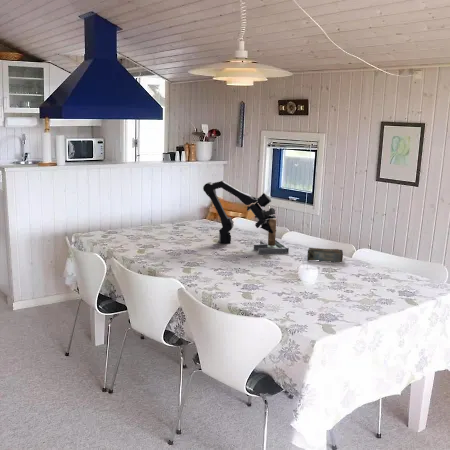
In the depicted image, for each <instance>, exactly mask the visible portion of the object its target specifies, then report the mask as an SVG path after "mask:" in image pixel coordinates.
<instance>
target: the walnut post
mask: <svg viewBox="0 0 450 450" xmlns="http://www.w3.org/2000/svg"><path fill="white" fill-rule="evenodd" d="M269 226H270V228H271V229H272V231H273V233H270V232H268V231H267V244H268V246H275V240H276V238H277V237H276V235H277V218H275V219H274V218H270V219H269Z"/></svg>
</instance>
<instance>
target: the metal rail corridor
mask: <svg viewBox="0 0 450 450" xmlns="http://www.w3.org/2000/svg"><path fill="white" fill-rule="evenodd" d="M275 245H276V246H277V247H279V248H268V243H266V242H265V241H264V240H262V239H260V240H259V243H258V244H253V250H254V251H258V252H257V254H259V255H271V254H273V255H275V254H289V253H290V252H289V250H290V249H289V247H288V246H287V245H285V244H284V243H282V242H281V241H279V240H278V239H275Z"/></svg>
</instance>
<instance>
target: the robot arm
mask: <svg viewBox="0 0 450 450" xmlns="http://www.w3.org/2000/svg"><path fill="white" fill-rule="evenodd" d="M202 189H203V192H204V194H206V196H207V197H209V199H210V200H211V203H212V204H213V206H214V208H215V211H216V212H217V214H218V216H219V218H220V221H221V223H220V224H221V226H222V227H221V228H220V229H219V230H218V231H219V237H218V238H219V239H218V242H219V243H220V244H221V245H222V244H231V243H232V235H231V233H230V232H231V231H232V230H233V228H234V221H233V218H232V217H231V216H228V215H227V213H226V211H225V209H224V208H223V205H222V203H221V201H220V199H219V197H218V196H217V195H218V194H217V191H216V190H218V189H223V190H224V191H226V192H227V193H229V194H231V195H233V196H235V197H236V198H237V199H239V201H241V203H243V204H244V205H246V211H247V212H249V211H251V212H252V214H253V215H254V218H255V219H257V220H258V221H257V222H255V224H254V226H255V227H256V229H258V228H260V229H261V230H264V231H266V232H267V233H268V232H270V233H273V231H272V229H271V228H270V226H269V219H270V218H274V219H277V217H276V215H275V214H276V209H275V208H274V207H269V210H265V209H263V207H264V208H265V207H266V206H268V205H269V204H270V203H271V202H272V200H271V198H270V197H269V196H268V195H267V194H266V193H265V192H263V193H262V194H261V195H260V196H259V197H255V196H253V195H251V194H249V193H246V192H244V191H241V190H239V189H237V187H234V186H233V185H231V184H229V183H228V182H226V181H225V180H220V181H216V182H207V183H205V184H204V185H203V188H202Z"/></svg>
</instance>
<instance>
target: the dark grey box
mask: <svg viewBox="0 0 450 450" xmlns="http://www.w3.org/2000/svg"><path fill="white" fill-rule="evenodd" d="M343 257H344V253H343V249H338V248H333V249H332V248H320V247H308V249H307V256H306V258H307V261H309V260H319V261H318V262H321V261H331V262H330V263H334V262H342V263H343Z"/></svg>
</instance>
